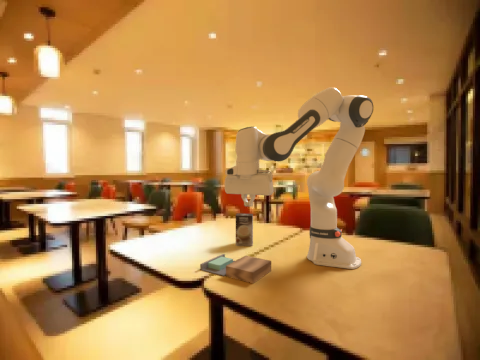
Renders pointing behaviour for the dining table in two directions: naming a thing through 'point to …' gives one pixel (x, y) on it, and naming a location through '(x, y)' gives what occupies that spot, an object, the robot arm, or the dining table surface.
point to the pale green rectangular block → (219, 263)
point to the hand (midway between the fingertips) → (248, 206)
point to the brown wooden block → (248, 269)
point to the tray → (219, 272)
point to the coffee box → (244, 229)
